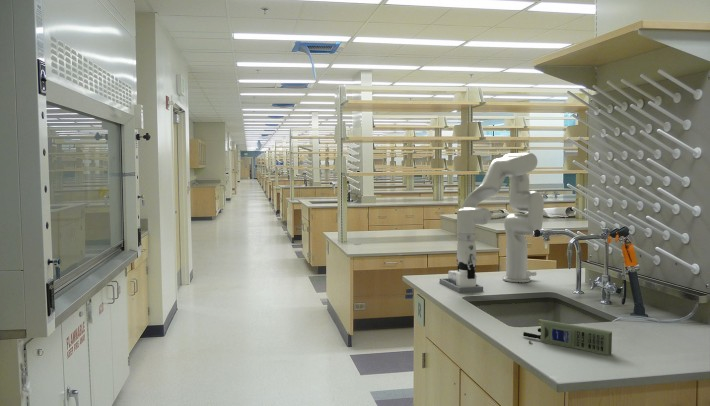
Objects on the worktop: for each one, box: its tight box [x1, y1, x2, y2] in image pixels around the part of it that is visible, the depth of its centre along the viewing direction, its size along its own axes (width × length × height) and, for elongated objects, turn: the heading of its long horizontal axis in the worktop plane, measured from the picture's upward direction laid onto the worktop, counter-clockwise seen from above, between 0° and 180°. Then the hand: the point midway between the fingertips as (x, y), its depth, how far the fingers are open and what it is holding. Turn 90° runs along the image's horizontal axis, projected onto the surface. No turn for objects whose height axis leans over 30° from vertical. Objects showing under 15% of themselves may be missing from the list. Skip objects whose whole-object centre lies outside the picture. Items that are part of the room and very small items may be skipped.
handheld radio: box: [522, 319, 613, 356], centre depth 153 cm, size 7×3×25 cm
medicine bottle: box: [456, 262, 477, 288], centre depth 226 cm, size 7×7×12 cm
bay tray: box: [439, 277, 484, 294], centre depth 231 cm, size 11×21×3 cm, turn 14°
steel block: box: [447, 269, 458, 283], centre depth 236 cm, size 5×5×6 cm
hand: (466, 276), depth 226 cm, fingers open, 9 cm apart
